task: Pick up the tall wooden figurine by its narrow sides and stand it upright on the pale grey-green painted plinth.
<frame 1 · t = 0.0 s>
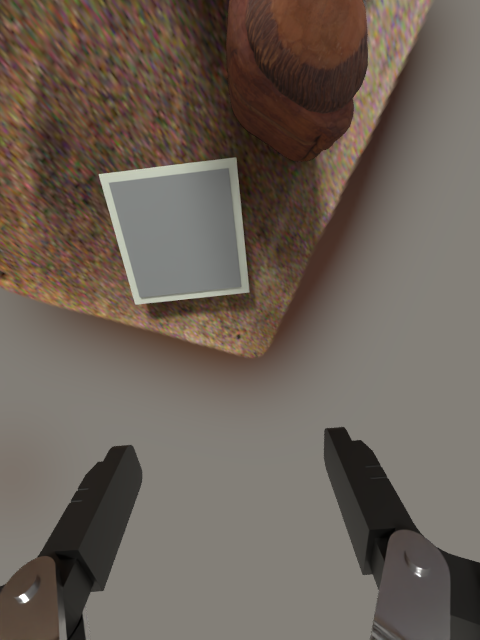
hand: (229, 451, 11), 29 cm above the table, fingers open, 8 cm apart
wooden figurine: (274, 119, 30), on the table
plinth: (185, 236, 35), on the table
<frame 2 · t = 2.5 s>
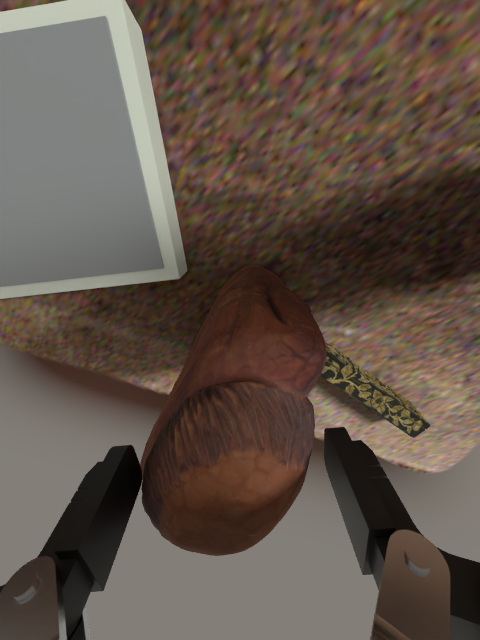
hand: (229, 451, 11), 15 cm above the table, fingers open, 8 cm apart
wooden figurine: (238, 316, 25), on the table, touching gripper
decorative block: (356, 374, 28), on the table
plinth: (69, 182, 20), on the table
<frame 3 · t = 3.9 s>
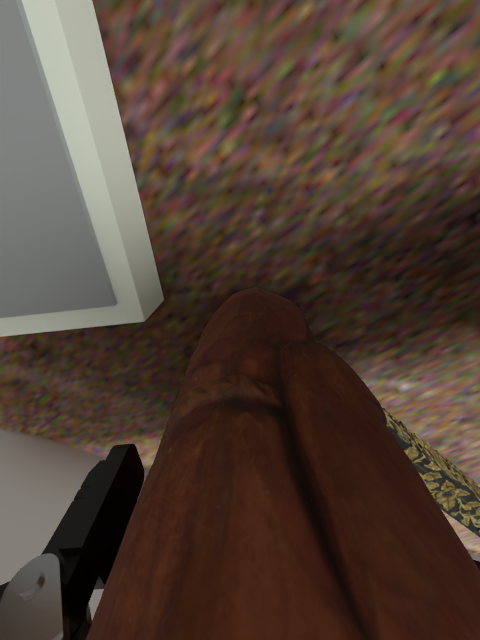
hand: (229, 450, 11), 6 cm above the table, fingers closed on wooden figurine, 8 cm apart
wooden figurine: (237, 363, 17), on the table, touching gripper
decorative block: (406, 442, 20), on the table
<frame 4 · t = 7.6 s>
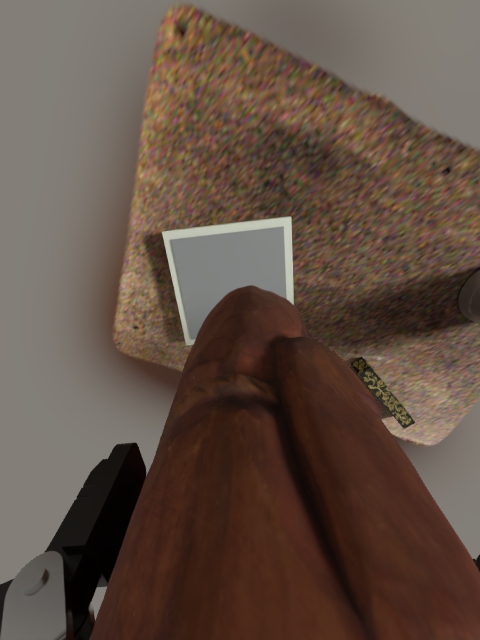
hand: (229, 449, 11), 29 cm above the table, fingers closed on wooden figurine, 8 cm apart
wooden figurine: (233, 361, 17), point 22 cm above the table, touching gripper
decorative block: (377, 386, 45), on the table
plinth: (233, 281, 37), on the table
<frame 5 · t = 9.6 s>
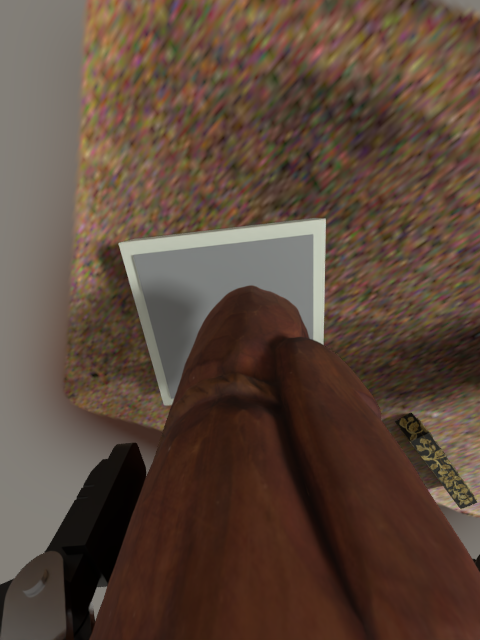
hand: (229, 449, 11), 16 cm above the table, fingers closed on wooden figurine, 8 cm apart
wooden figurine: (233, 361, 17), point 9 cm above the table, touching gripper
decorative block: (426, 448, 34), on the table
plinth: (233, 313, 26), on the table
when the fingers open (10 cm above the table, at t = 11.5 s): wooden figurine stays where it is, resting on plinth.
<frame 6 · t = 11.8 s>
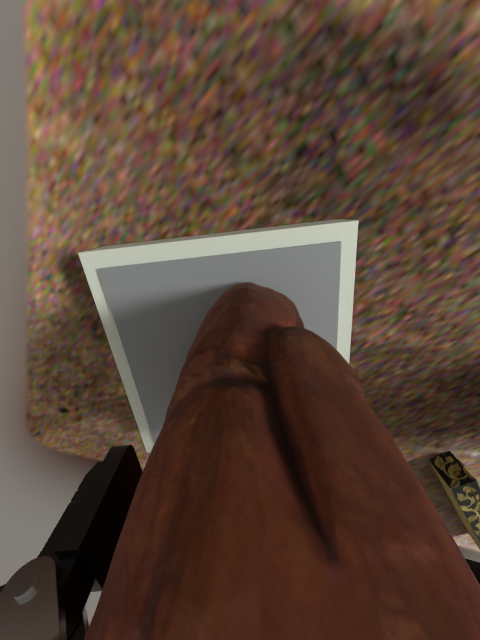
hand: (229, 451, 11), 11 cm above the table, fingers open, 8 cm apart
wooden figurine: (235, 356, 17), point 3 cm above the table, touching plinth
decorative block: (457, 491, 29), on the table
plinth: (233, 337, 20), on the table
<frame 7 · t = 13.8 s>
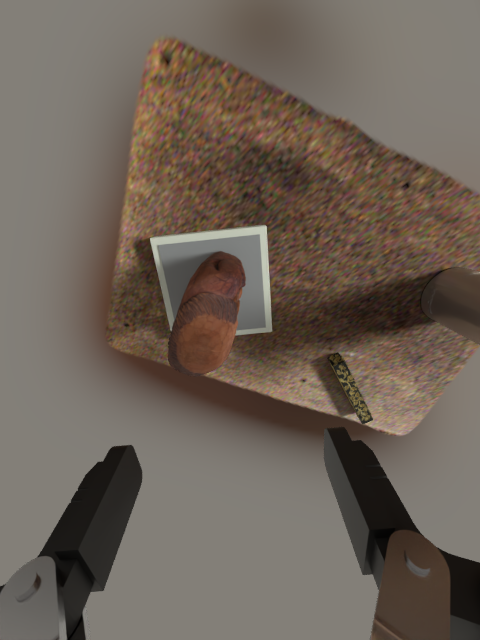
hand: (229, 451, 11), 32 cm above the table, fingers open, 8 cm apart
wooden figurine: (216, 287, 38), point 3 cm above the table, touching plinth
decorative block: (346, 382, 50), on the table
plinth: (217, 283, 41), on the table
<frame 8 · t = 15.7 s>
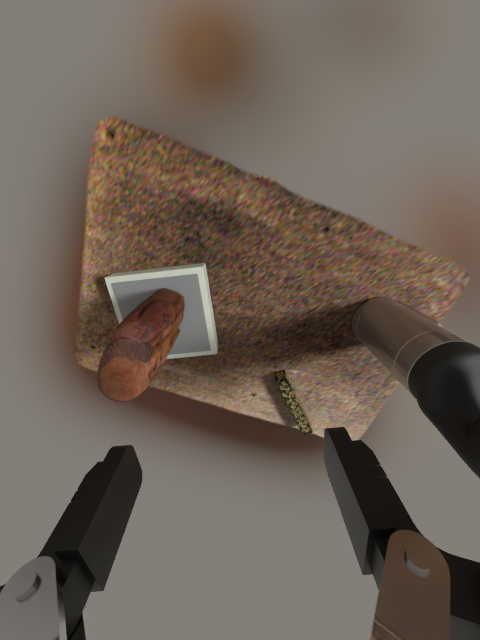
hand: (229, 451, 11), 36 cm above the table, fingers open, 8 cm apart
wooden figurine: (164, 317, 44), point 3 cm above the table, touching plinth
decorative block: (292, 397, 55), on the table
plinth: (169, 311, 47), on the table
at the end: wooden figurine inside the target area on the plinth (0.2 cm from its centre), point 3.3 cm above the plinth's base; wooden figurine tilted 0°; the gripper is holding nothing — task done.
